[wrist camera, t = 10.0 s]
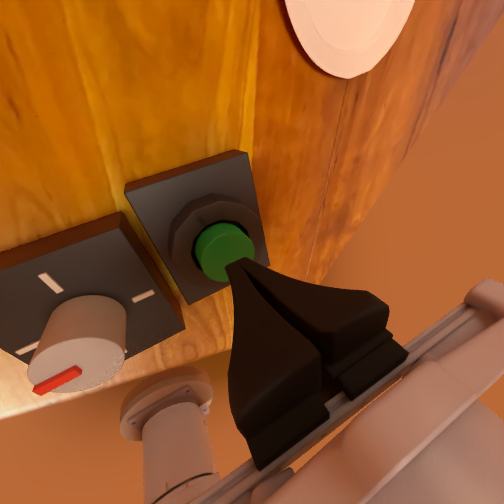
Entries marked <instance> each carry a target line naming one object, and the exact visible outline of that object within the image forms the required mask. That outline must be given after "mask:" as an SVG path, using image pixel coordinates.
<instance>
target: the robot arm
mask: <svg viewBox="0 0 504 504" xmlns="http://www.w3.org/2000/svg"><path fill="white" fill-rule="evenodd" d="M225 271H226V274H227V276H228V279H229V282H230V284H231V288H232V295H233V304H234V332H233V342H232V352H231V358H230V364H229V370H228V392H229V403H230V408H231V412H232V415H233V418H234V421H235V424H236V426H237V429H238V430H239V431H240V433H241V434H242V435H243V436H244V438H245V439H246V441H247V444H248V446H249V449H250V452H251V455H252V457H251V458H250V459H249V460H248V461H246V462H245V463H243V464H242V465H241V466H239V467H238V468H237V469H235V470H234V471H232V472H231V473H230V474H228V475H227V476H226V477H224V478H223V479H222V480H220V476H219V472H216V473H214V472H215V458H214V453H213V449H212V445H211V441H210V437H209V433H208V429H207V424H206V420H205V415H206V414H208V413H209V412H210V409H209V407H208V406H207V405H206V404H205V403H204V402H203V401H202V399H201V398H200V397H199V396H198V395H197V394H196V393H195V391H194V390H193V389H192V388H191V387H190V386H189V385H185V386H183V387H181V388H179V389H178V390H176V391H174V392H172V393H171V394H169V395H167V396H166V397H164V398H162V399H160V400H159V401H157V402H155V403H154V404H152V405H150V406H149V407H147V408H145V409H143V410H142V411H140V412H138V413H137V414H135V415H133V416H131V417H130V418H128V420H127V424H129V425H130V426H132V427H134V428H135V429H137V430H139V431H141V432H142V449H143V486H144V504H504V420H503V419H501V418H500V417H499V416H498V415H496V414H495V413H494V412H493V411H491V410H490V409H489V408H488V407H486V406H485V405H484V404H483V403H481V402H480V401H479V400H478V398H479V397H480V396H481V395H482V394H483V393H484V392H485V391H486V390H487V389H488V388H489V387H490V386H492V384H494V383H495V382H496V381H497V380H498V379H499V378H500V377H501V376H502V375H503V374H504V284H501V283H499V282H496V281H494V280H492V279H489V278H485V279H484V280H482V281H481V282H480V283H478V284H477V285H476V286H474V287H473V288H472V289H471V290H470V291H469V292H468V293H467V295H466V296H465V298H464V302H463V303H461V304H460V305H458V306H457V307H456V308H454V309H453V310H452V311H450V312H449V313H448V314H446V315H445V316H443V317H442V318H441V319H439V320H438V321H437V322H435V323H434V324H433V325H431V326H430V327H429V328H427V329H426V330H424V331H423V332H422V333H420V334H419V335H418V336H416V337H415V338H413V339H412V340H411V341H409V342H408V343H407V344H405V345H404V346H403V347H402V346H400V345H399V344H398V343H397V342H396V341H394V340H393V339H392V337H393V335H392V333H391V332H389V331H388V330H387V329H386V324H387V321H388V317H389V307H388V305H387V304H385V303H384V302H383V301H381V300H380V299H379V298H377V297H376V296H374V295H373V294H371V293H370V292H368V291H363V290H349V289H340V288H332V287H326V286H320V285H316V284H311V283H307V282H303V281H300V280H296V279H293V278H290V277H287V276H285V275H282V274H280V273H277V272H275V271H273V270H271V269H269V268H266V267H264V266H262V265H260V264H259V263H257V262H255V261H253V260H251V259H249V258H248V257H243V258H241V259H239V260H236V261H234V262H232V263H230V264H228V265H226V266H225ZM402 376H403V377H402ZM401 377H402V379H401V380H400V381H399V382H398V383H396V384H395V385H394V386H393V387H391V388H390V389H389V390H387V391H386V392H385V393H384V394H382V395H381V396H380V397H379V398H377V399H376V400H375V401H373V402H372V403H371V404H370V405H368V406H367V407H366V408H365V409H364V410H363V411H361V412H360V413H359V414H358V415H357V416H356V417H355V418H354V419H353V420H352V421H351V423H349V425H348V426H346V427H345V428H344V429H343V430H342V431H341V432H340V433H338V434H337V435H336V436H335V437H334V438H333V439H332V440H331V441H330V442H329V443H328V444H327V445H325V446H324V447H323V448H322V449H321V450H320V451H319V452H318V453H317V454H316V455H315V456H313V457H312V458H311V459H310V460H309V461H308V462H307V463H306V464H305V465H304V466H303V467H301V468H300V469H299V470H298V471H297V472H296V473H294V471H293V469H292V468H290V467H288V466H289V465H290V464H291V463H293V462H294V461H295V460H297V459H298V458H299V457H300V456H302V455H303V454H304V453H305V452H307V451H308V450H309V449H311V448H312V447H313V446H314V445H316V444H317V443H318V442H320V441H321V440H322V439H323V438H325V437H326V436H327V435H329V434H330V433H331V432H332V431H334V430H335V429H336V428H337V427H339V426H340V425H341V424H343V423H344V422H345V421H346V420H348V419H349V418H350V417H351V416H353V415H354V414H355V413H356V412H358V411H359V410H360V409H362V408H363V407H364V406H365V405H367V404H368V403H369V402H371V401H372V400H373V399H374V398H375V397H377V396H378V395H379V394H381V393H382V392H383V391H384V390H386V389H387V388H388V387H389V386H391V385H392V384H394V383H395V382H396V381H397V380H399V379H400V378H401ZM286 467H288V468H287V469H285V468H286ZM284 469H285V470H284Z"/></svg>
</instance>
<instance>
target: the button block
mask: <svg viewBox="0 0 504 504" xmlns="http://www.w3.org/2000/svg"><path fill="white" fill-rule="evenodd" d="M124 195H125V196H126V198H127V200H128V201H129V203H130V205H131V207H132V208H133V210H134V212H135V213H136V215H137V217H138V219H139V220H140V222H141V224H142V226H143V227H144V229H145V231H146V232H147V234H148V236H149V238H150V239H151V241H152V243H153V245H154V246H155V248H156V250H157V251H158V253H159V255H160V257H161V258H162V260H163V262H164V263H165V265H166V267H167V269H168V270H169V272H170V274H171V276H172V277H173V279H174V281H175V282H176V284H177V286H178V288H179V289H180V291H181V293H182V295H183V296H184V298H185V300H186V301H187V303H188V305H190V304H192V303H194V302H196V301H199V300H201V299H203V298H205V297H207V296H209V295H211V294H213V293H215V292H217V291H219V290H221V289H223V288H225V287H227V286H229V285H231V284H230V282H229V281H227V282H219V281H215V280H212V279H210V278H209V277H208V276H206V274H205V273H204V272H203V270H202V268H201V266H200V263H199V261H198V259H197V257H196V253H195V245H196V242H197V239H198V238H199V236H200V235H201V233H202V232H203V231H204V230H205V229H207V228H208V227H210V226H212V225H214V224H217V223H230V224H233V225H235V226H237V227H238V228H239V229H240V230H241V231H242V232H243V233H244V234H245V235H246V236H247V237H248V238H249V239H250V240H251V241H252V243H253V246H254V259H253V261H255V262H257V263H259V264H260V265H262V266H264V267H268V266H270V263H269V258H268V253H267V248H266V243H265V237H264V232H263V227H262V222H261V218H260V213H259V208H258V203H257V197H256V192H255V187H254V182H253V177H252V172H251V167H250V162H249V157H248V153H247V152H243V151H239V150H232V151H229V152H226V153H223V154H219V155H216V156H213V157H210V158H207V159H204V160H201V161H197V162H194V163H191V164H188V165H185V166H182V167H179V168H175V169H172V170H169V171H166V172H163V173H160V174H156V175H153V176H150V177H147V178H144V179H141V180H138V181H134V182H131V183H128V184H126V185H125V189H124Z"/></svg>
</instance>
